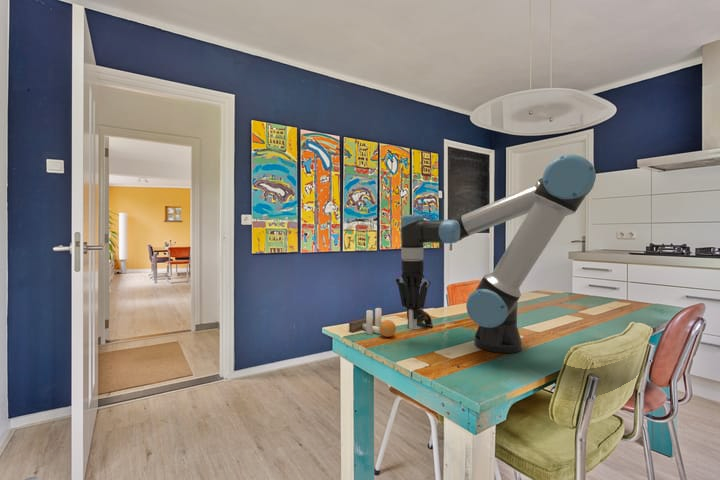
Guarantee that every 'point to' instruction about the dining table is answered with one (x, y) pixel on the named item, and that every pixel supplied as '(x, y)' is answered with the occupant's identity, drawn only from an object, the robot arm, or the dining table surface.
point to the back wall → (358, 325)
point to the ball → (387, 328)
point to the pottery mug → (423, 318)
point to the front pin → (375, 329)
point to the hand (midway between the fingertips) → (412, 327)
